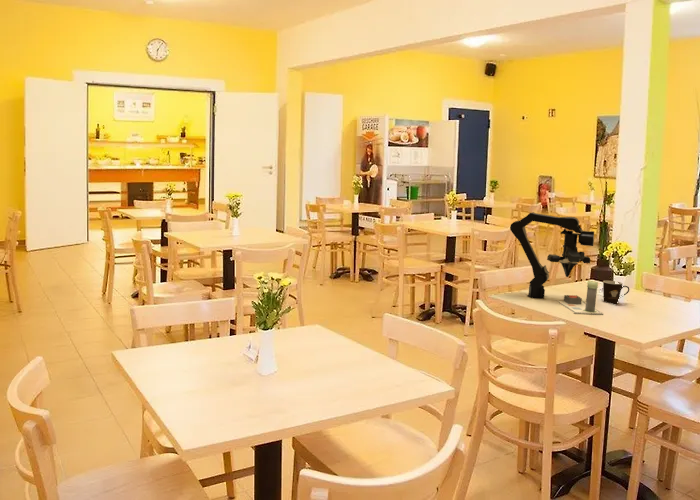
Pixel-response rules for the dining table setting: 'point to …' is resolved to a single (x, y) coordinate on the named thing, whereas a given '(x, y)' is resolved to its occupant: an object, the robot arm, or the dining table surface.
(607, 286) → the coffee mug
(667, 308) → the dining table surface
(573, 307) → the colouring board
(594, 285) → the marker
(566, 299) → the button housing
